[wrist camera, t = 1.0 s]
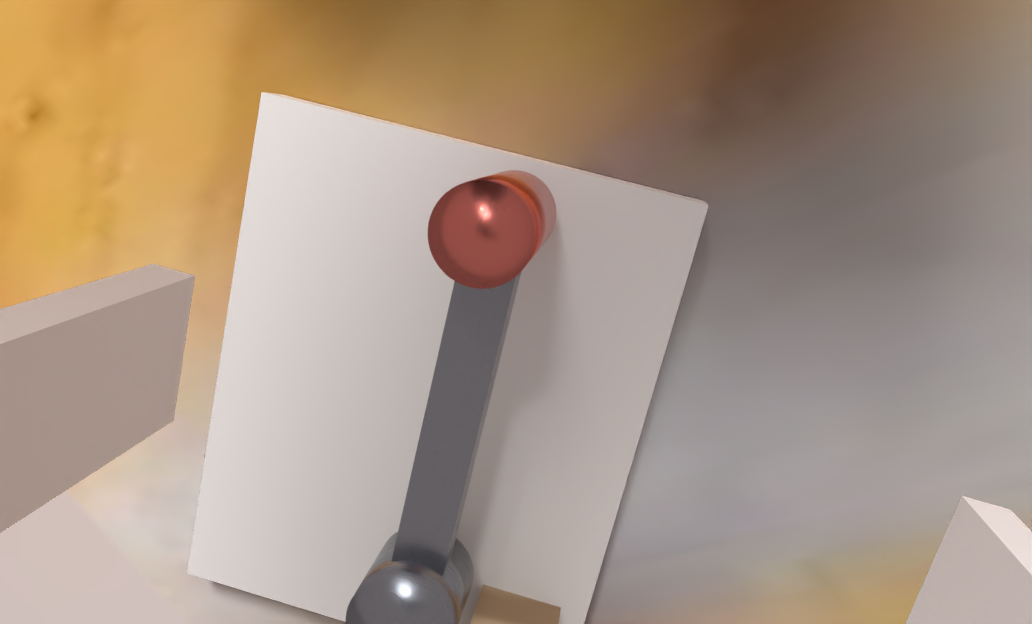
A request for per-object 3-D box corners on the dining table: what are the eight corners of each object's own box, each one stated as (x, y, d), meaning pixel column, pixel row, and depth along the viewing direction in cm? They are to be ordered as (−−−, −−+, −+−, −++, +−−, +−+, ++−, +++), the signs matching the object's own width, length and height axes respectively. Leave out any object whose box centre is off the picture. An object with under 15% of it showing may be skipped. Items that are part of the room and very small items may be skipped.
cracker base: (282, 94, 34) (240, 89, 30) (704, 201, 32) (713, 209, 29) (208, 551, 39) (164, 594, 35) (567, 660, 38) (560, 717, 34)
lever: (472, 158, 30) (426, 165, 23) (576, 184, 30) (559, 199, 23) (362, 655, 36) (298, 776, 29) (448, 682, 35) (405, 811, 28)
